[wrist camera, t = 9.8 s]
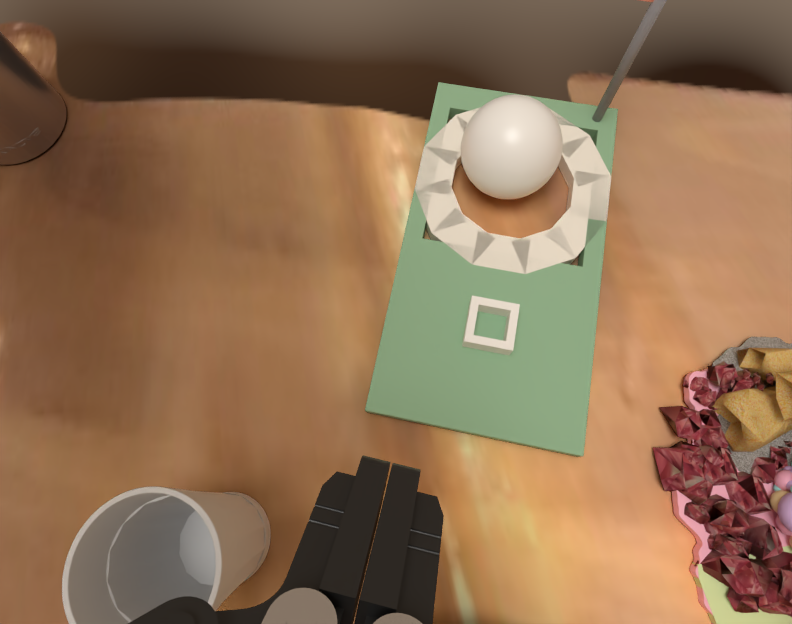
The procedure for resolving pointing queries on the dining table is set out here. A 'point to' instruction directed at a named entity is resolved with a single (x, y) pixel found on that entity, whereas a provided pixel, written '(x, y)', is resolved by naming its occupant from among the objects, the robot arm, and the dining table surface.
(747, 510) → the coral reef model
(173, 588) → the cup
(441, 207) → the mini golf board
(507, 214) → the dining table surface
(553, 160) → the ball
